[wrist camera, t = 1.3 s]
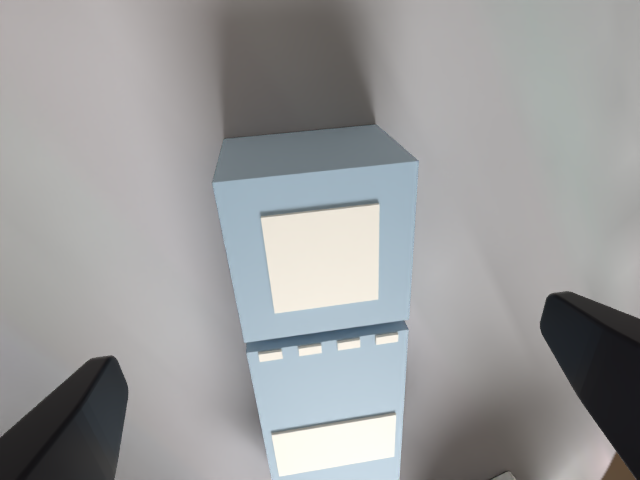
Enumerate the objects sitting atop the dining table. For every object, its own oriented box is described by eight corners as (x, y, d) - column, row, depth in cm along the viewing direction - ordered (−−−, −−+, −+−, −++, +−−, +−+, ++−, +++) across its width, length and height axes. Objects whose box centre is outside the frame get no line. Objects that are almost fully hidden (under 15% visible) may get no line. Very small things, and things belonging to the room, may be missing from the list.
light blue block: (246, 269, 15) (244, 345, 12) (223, 138, 13) (211, 184, 9) (375, 253, 16) (410, 321, 12) (376, 124, 13) (420, 162, 10)
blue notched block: (262, 480, 22) (264, 590, 18) (219, 282, 15) (205, 379, 11) (392, 457, 22) (424, 558, 18) (402, 258, 16) (453, 342, 12)
